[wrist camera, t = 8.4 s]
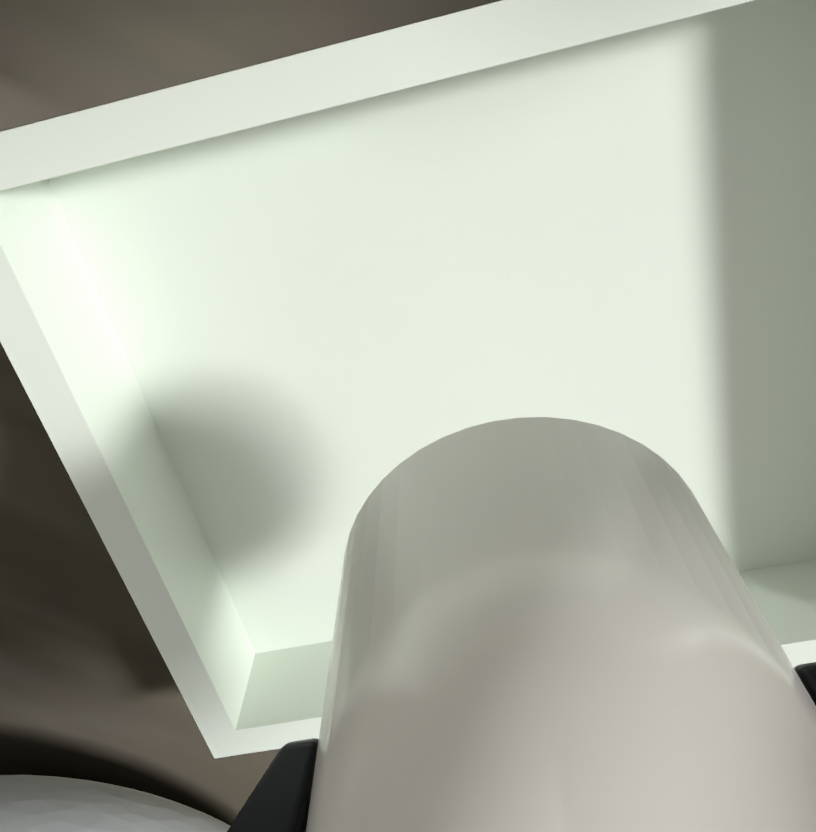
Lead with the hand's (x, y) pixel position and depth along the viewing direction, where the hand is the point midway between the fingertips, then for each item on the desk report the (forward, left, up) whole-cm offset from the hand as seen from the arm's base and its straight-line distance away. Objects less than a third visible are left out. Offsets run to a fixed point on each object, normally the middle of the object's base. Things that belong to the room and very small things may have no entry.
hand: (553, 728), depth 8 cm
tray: (0, 0, -9) cm, 9 cm away
